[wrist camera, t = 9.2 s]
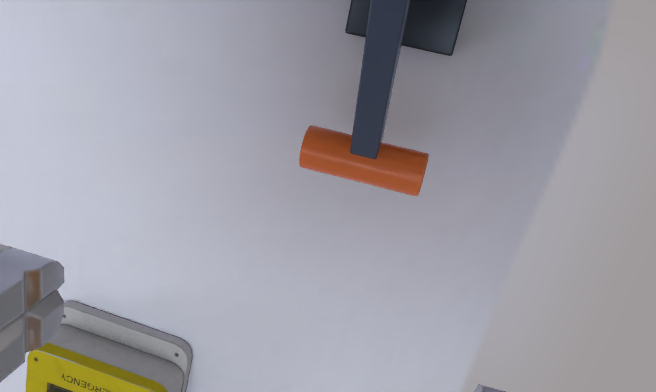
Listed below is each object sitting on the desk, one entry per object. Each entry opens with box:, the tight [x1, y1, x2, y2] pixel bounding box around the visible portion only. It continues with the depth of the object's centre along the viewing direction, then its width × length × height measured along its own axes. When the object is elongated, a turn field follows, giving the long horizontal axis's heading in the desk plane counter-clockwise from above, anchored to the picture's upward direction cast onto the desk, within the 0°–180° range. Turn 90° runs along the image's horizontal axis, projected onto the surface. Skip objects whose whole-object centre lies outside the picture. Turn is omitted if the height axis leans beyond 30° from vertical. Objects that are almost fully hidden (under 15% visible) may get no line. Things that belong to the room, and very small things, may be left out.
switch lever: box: [299, 0, 429, 196], centre depth 18 cm, size 13×5×2 cm, turn 168°
